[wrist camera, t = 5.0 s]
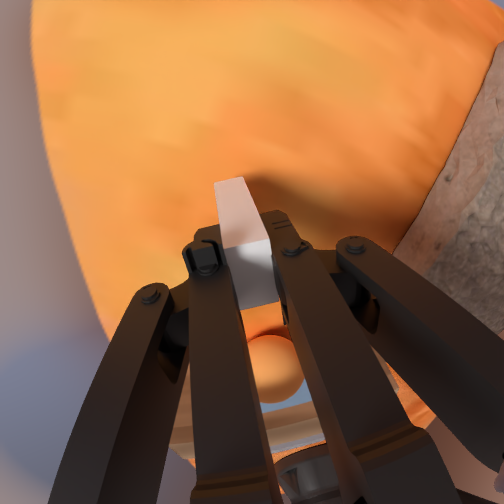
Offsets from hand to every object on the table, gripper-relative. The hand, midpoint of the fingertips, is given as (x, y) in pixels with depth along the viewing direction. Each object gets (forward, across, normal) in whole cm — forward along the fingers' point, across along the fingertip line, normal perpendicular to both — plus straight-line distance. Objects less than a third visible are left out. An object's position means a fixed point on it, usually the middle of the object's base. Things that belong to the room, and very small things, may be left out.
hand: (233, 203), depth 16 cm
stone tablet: (+3, -23, +7) cm, 24 cm away
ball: (-1, 0, +14) cm, 14 cm away
